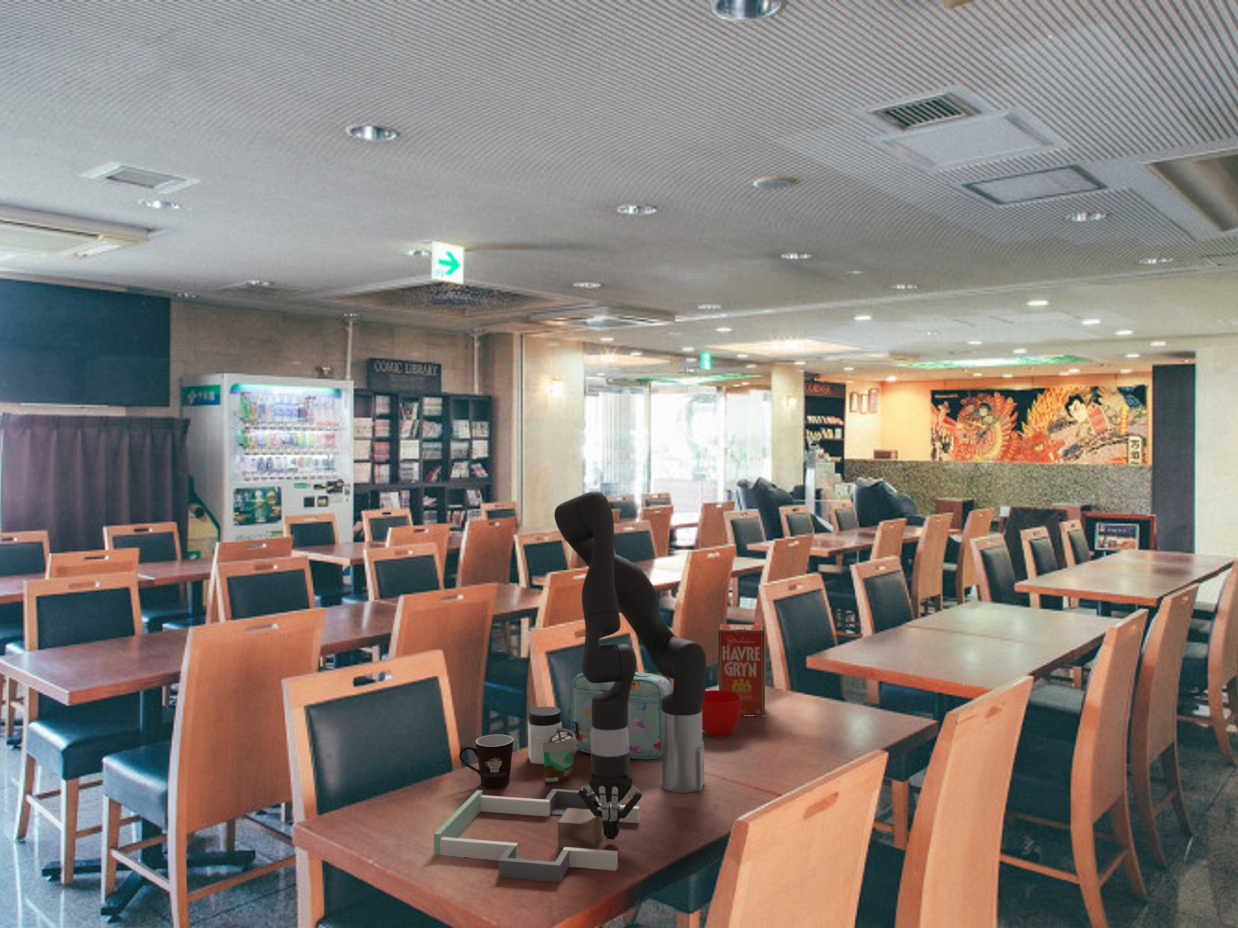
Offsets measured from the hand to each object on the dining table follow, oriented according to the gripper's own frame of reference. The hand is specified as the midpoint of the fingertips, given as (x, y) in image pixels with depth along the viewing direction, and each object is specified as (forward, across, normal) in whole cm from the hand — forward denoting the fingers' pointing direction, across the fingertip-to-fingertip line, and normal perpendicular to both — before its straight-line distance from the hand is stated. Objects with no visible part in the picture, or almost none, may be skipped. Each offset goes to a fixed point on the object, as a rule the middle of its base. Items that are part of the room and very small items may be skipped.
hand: (611, 837), depth 172 cm
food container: (+1, +18, -32) cm, 37 cm away
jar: (+1, +26, -45) cm, 52 cm away
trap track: (+1, +15, 0) cm, 15 cm away
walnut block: (+1, +6, 0) cm, 6 cm away
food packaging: (+1, -20, -93) cm, 95 cm away
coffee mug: (+1, +34, -27) cm, 43 cm away
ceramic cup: (+1, -12, -72) cm, 73 cm away
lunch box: (+1, +9, -52) cm, 53 cm away
